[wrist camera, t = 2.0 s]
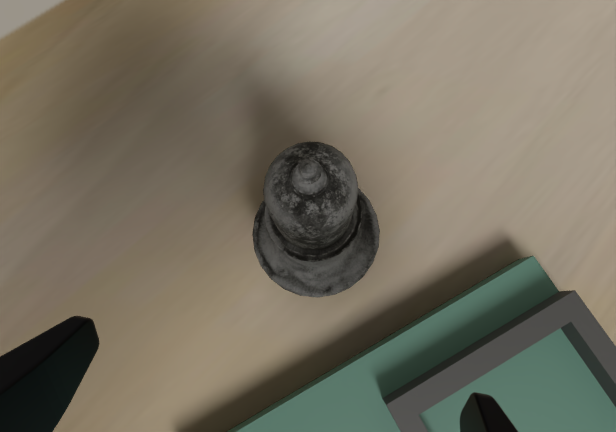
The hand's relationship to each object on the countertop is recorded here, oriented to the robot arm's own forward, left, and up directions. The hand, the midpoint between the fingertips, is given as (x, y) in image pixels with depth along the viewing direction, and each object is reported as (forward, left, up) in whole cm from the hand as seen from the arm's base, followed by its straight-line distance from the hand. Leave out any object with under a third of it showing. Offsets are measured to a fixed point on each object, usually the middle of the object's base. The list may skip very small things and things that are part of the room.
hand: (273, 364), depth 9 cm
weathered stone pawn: (+3, +4, -12) cm, 13 cm away
